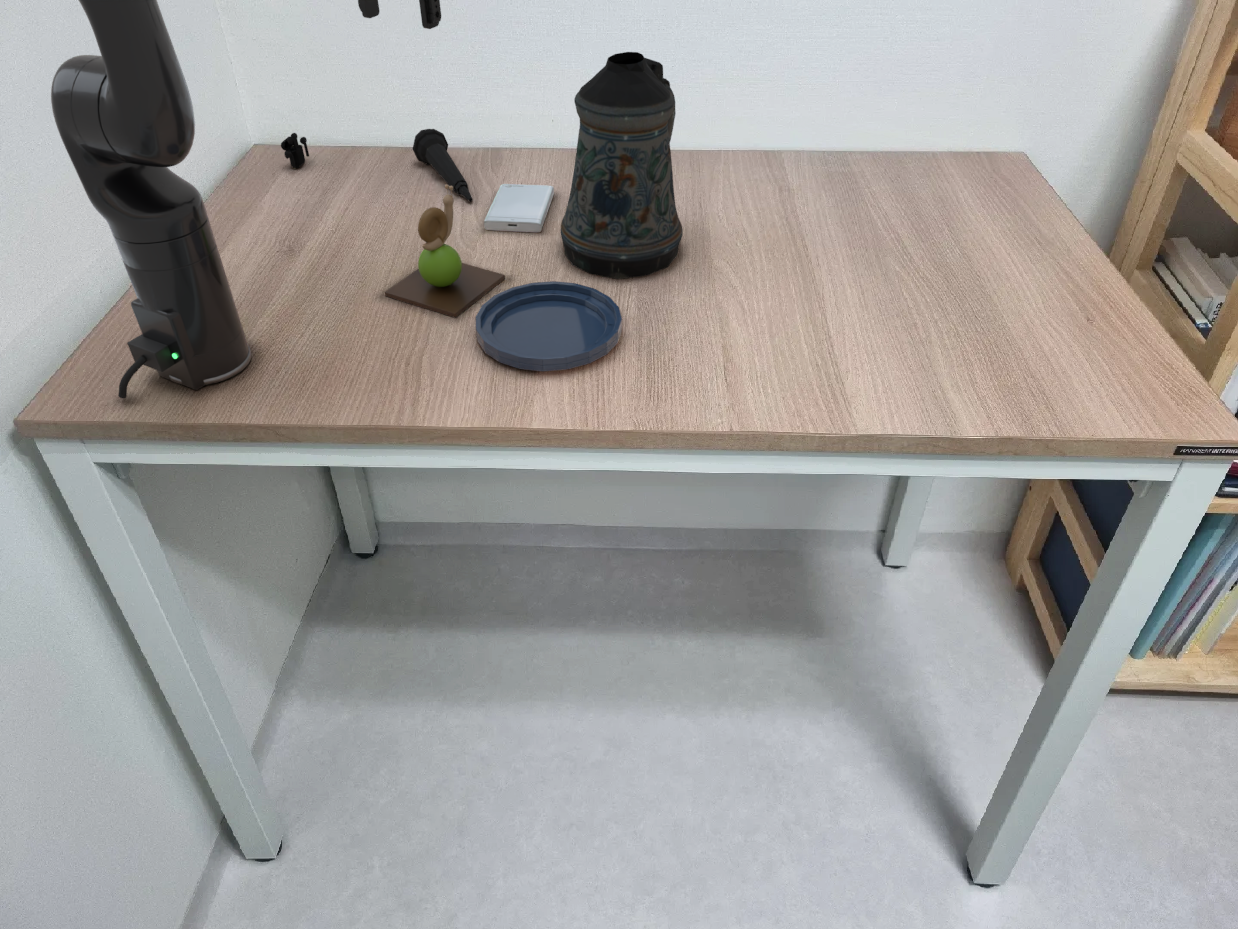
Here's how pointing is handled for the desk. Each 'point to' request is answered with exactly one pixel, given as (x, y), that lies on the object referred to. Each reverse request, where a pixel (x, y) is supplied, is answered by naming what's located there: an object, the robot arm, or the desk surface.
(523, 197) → the hard drive
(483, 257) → the desk surface
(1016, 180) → the desk surface
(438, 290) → the coaster
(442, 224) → the snail figurine
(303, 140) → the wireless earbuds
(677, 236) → the beer stein
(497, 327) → the plate
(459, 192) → the microphone
